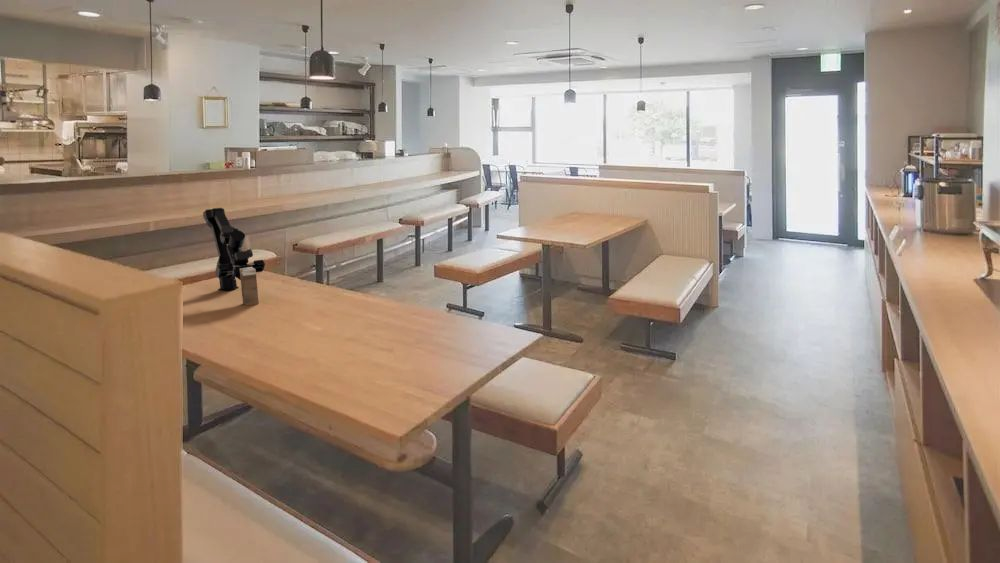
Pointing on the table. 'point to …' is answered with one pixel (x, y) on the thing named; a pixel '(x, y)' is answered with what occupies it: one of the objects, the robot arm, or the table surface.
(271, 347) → the table surface
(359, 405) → the table surface
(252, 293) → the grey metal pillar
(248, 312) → the table surface
